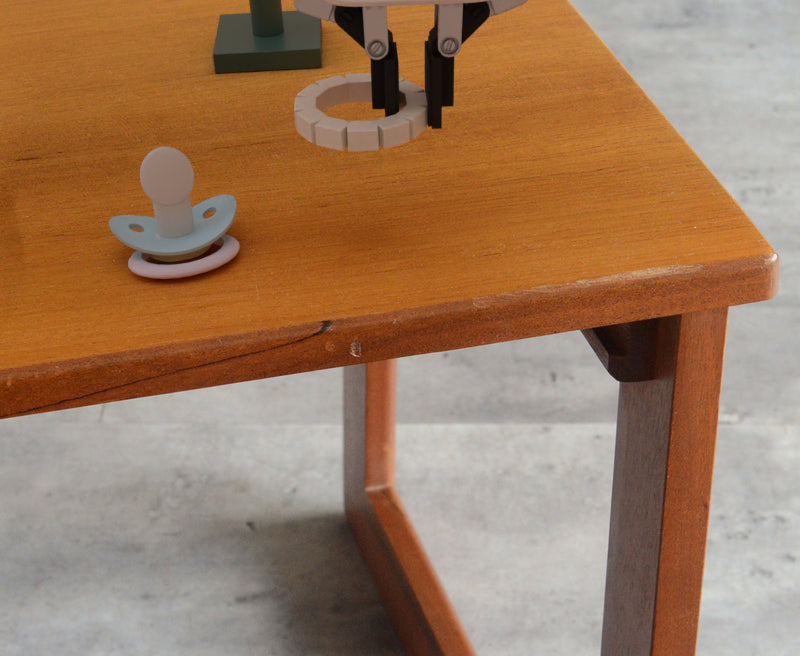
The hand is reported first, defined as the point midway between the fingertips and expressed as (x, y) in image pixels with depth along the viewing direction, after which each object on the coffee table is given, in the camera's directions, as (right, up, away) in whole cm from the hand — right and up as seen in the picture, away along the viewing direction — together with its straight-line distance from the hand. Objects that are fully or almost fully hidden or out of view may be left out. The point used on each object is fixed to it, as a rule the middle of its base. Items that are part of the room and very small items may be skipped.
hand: (412, 116), depth 65 cm
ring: (-3, 0, 0) cm, 3 cm away
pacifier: (-13, -7, +4) cm, 16 cm away
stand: (-11, +12, +28) cm, 32 cm away
